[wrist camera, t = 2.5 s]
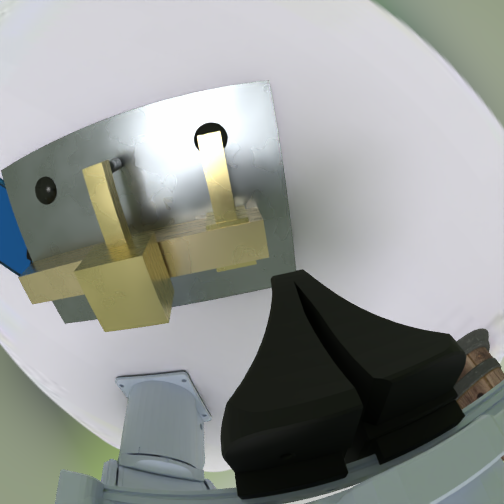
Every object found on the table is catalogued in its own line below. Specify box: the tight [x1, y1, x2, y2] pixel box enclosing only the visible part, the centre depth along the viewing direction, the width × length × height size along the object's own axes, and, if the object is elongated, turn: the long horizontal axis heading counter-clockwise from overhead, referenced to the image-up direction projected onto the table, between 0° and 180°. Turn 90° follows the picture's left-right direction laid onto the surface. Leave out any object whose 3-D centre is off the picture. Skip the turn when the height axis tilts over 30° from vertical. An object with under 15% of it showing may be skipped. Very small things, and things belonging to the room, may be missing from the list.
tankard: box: [453, 329, 504, 461], centre depth 24 cm, size 24×17×20 cm
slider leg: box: [74, 158, 174, 332], centre depth 14 cm, size 8×4×5 cm, turn 9°
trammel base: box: [1, 80, 296, 324], centre depth 16 cm, size 14×20×3 cm
